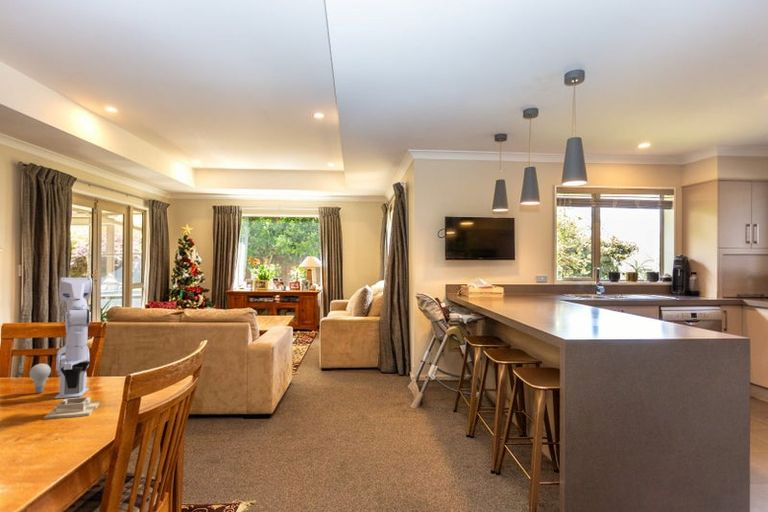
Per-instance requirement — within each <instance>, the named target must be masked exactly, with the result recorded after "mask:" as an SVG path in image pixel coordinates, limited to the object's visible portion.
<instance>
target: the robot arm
mask: <svg viewBox="0 0 768 512" xmlns="http://www.w3.org/2000/svg"><path fill="white" fill-rule="evenodd" d="M58 286H59V287H58V288H59V289H58V291H59V293H58V294H59V299H60V301H63V302H65V304H66V312H65V318H64V325H65V326H64V327H65V333H66V335H65V345H64V346H62V347H61V348H59V349H58V350H57V352H56V357H55V358H56V359H55V360H56V361H55V363H56V365H55V371H57V372H59V393H58V394H57V395H55V396H54V399H68V398H81V396H83V395H84V394H85V393H86V392H88V391H89V390H90V388H89V387H87V377H88V376H87V375H88V374H87V369H88V368H89V366H90V363H91V362H90V349H89V347H88V334H89V333H88V332H89V330H88V329H89V327H90V326H89V325H90V323H91V312H90V308H89V307H88V300H90V298H91V295H92V292H93V278H92V277H90V276H89V277H63V276H61V277H60V278H59V285H58ZM81 371H84V383H83V391H81V392H80V393H78V394H66V395H64V389H65V379H66V382H67V386H68V389H71V388H76V387H77V384H78V379H79V375H80V372H81Z"/></svg>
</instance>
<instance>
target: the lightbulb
mask: <svg viewBox="0 0 768 512" xmlns="http://www.w3.org/2000/svg"><path fill="white" fill-rule="evenodd" d="M51 372H52V368H51V367H50V365H49V364H47V363H38V364H35V365H33V366H32V367H31V368H30V371H29V377H30V378H31V379H32V381H33V383H34V384H33V385H34V392H35V393H37V394H41V393H42V392H44V391H45V385H46V381H47V379H48V378H49V376H50V375H51Z"/></svg>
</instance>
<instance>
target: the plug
mask: <svg viewBox="0 0 768 512" xmlns="http://www.w3.org/2000/svg"><path fill="white" fill-rule="evenodd" d="M83 383H84V371H81V372H80V375H79V379H78V384H77V387H76V388H71V389H68V386H67V382H66V379H65V389H64V395H66V394H78V393H80V392H81V391H83Z"/></svg>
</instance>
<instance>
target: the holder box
mask: <svg viewBox="0 0 768 512" xmlns="http://www.w3.org/2000/svg"><path fill="white" fill-rule="evenodd" d="M91 399H92V397H91V396H86V397H85V396H84V397H68V398H64V400H62V401H61V402H59V403H58V404H57V405H56V406H55V407H54V408H53V409H51V411H49V412H48V413H47V414H45V416H43V420H44V421H45V420H54V419H55V420H56V419H65V418H66V419H67V418H76V417H87V416H88V417H89V416H91V414H92V413H93V412H94V411H95V410H96V409H97V408H98V407H99V406H100V405H101V403H102V401H101V400H100V401H99V400H98V401H91Z"/></svg>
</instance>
